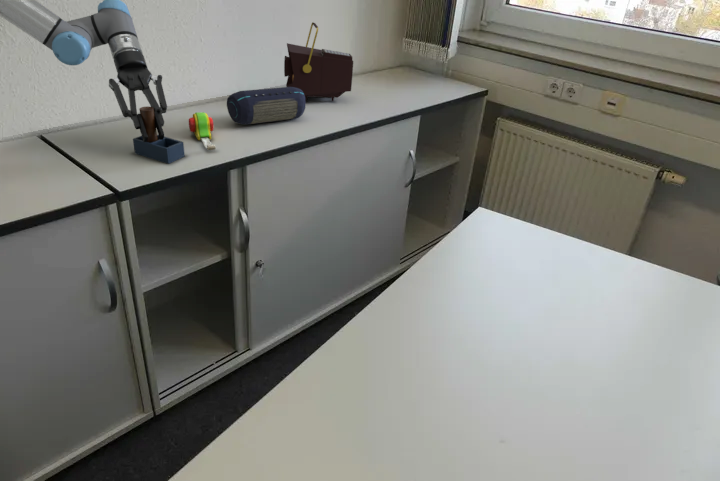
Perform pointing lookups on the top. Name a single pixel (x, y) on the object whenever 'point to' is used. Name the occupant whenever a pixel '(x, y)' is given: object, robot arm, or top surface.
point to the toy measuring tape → (202, 128)
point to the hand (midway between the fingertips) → (154, 138)
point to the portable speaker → (266, 105)
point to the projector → (318, 70)
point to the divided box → (160, 149)
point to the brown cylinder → (149, 123)
